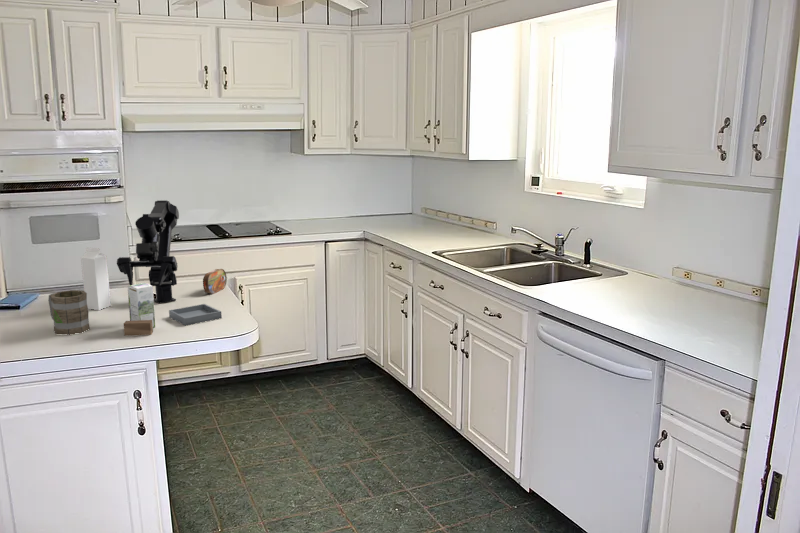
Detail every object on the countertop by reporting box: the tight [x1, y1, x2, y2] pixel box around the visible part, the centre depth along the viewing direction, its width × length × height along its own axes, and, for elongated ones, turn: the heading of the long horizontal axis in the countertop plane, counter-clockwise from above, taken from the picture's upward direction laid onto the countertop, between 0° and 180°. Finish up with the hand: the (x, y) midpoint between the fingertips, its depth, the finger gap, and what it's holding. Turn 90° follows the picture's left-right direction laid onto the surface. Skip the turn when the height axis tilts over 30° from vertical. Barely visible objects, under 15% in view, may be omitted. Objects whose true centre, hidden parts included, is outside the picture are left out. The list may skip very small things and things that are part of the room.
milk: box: [80, 246, 112, 311], centre depth 242 cm, size 6×6×22 cm
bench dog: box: [123, 320, 154, 337], centre depth 214 cm, size 3×8×4 cm, turn 98°
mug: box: [48, 289, 91, 336], centre depth 218 cm, size 16×11×12 cm
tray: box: [168, 303, 223, 326], centre depth 232 cm, size 13×13×2 cm
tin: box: [202, 268, 228, 295], centre depth 268 cm, size 15×3×8 cm, turn 167°
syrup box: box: [127, 282, 156, 329], centre depth 219 cm, size 6×6×14 cm
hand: (144, 285), depth 225 cm, fingers open, 9 cm apart
